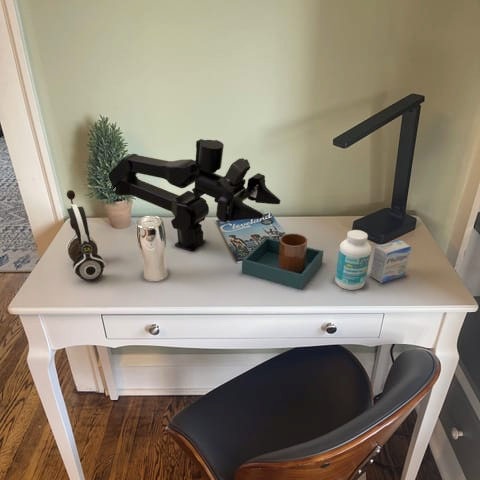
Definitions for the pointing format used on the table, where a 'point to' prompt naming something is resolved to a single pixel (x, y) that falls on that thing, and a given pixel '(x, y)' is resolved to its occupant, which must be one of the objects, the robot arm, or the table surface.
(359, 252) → the pill bottle
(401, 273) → the medicine box
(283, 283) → the tray
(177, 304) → the table surface
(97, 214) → the table surface
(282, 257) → the cup
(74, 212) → the headset
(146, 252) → the beer glass
